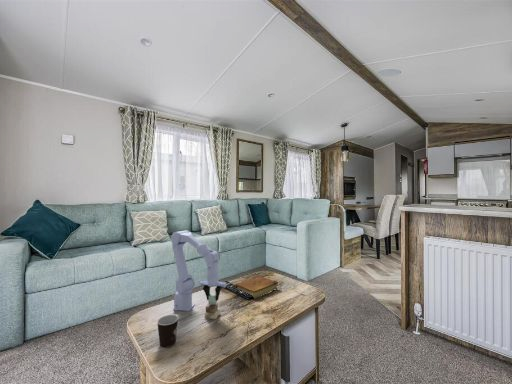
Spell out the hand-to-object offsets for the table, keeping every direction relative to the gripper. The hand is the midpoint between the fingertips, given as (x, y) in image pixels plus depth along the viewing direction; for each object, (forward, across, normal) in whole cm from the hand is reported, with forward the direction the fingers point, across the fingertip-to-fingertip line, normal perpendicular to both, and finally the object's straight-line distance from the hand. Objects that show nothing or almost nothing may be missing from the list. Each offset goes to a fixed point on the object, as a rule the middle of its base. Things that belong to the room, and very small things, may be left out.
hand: (212, 299), depth 127 cm
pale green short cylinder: (+2, 0, 0) cm, 2 cm away
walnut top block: (+6, 0, 0) cm, 6 cm away
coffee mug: (+9, -10, -25) cm, 28 cm away
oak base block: (+9, 0, 0) cm, 9 cm away
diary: (+9, +17, +38) cm, 43 cm away
